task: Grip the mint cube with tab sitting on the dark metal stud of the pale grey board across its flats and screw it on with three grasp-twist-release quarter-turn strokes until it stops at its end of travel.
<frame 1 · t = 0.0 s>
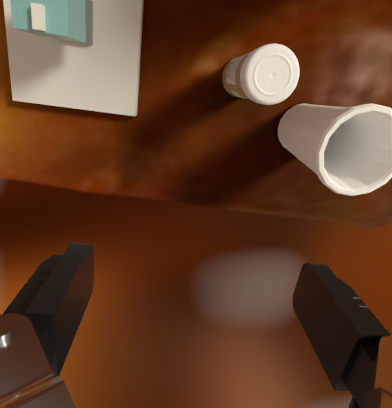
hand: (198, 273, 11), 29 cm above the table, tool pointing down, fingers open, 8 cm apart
mint cube with tab: (50, 7, 26), point 8 cm above the table, hinge at 0.0°
stud board: (78, 23, 33), on the table
cup: (299, 128, 39), on the table
sprinkles bottle: (239, 77, 36), on the table
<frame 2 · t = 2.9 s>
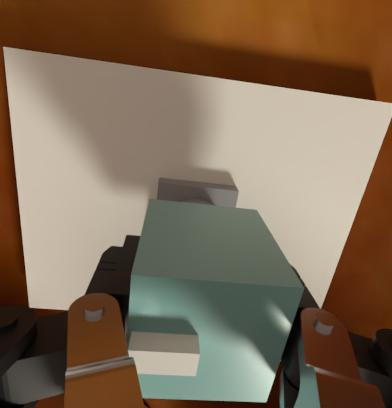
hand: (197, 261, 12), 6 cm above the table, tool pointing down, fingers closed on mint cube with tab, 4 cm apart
mint cube with tab: (201, 294, 10), point 8 cm above the table, hinge at -0.1°, touching gripper
stud board: (192, 205, 17), on the table
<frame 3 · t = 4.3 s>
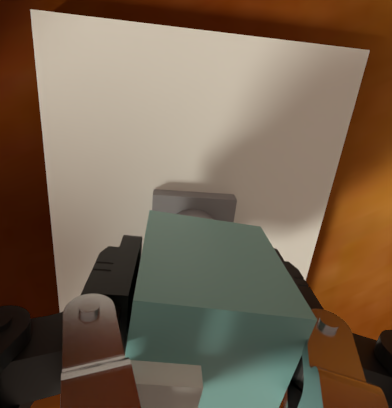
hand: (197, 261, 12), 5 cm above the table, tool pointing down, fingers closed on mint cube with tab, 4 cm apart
mint cube with tab: (201, 315, 10), point 8 cm above the table, hinge at 84.4°, touching gripper
stud board: (189, 215, 17), on the table
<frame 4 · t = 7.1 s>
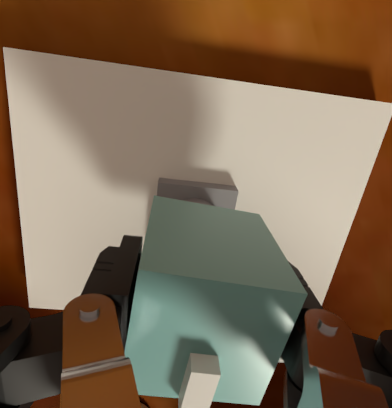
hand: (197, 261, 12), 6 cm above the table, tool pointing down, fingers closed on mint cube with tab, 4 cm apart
mint cube with tab: (201, 293, 10), point 8 cm above the table, hinge at 85.4°, touching gripper
stud board: (191, 205, 17), on the table
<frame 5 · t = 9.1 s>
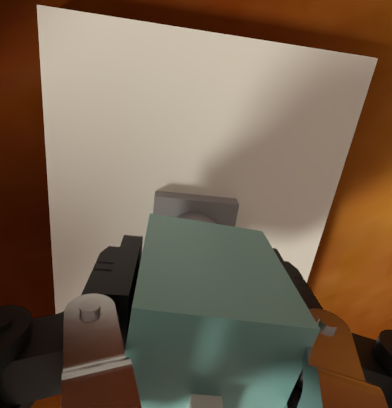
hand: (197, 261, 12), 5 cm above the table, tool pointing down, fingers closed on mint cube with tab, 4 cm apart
mint cube with tab: (201, 321, 9), point 8 cm above the table, hinge at 175.6°, touching gripper
stud board: (190, 218, 17), on the table
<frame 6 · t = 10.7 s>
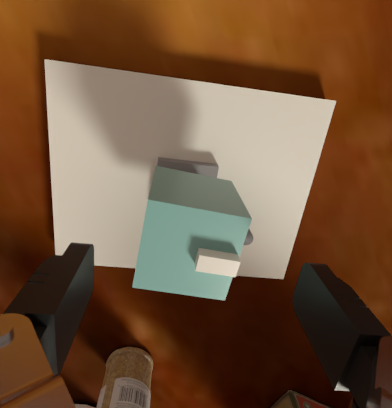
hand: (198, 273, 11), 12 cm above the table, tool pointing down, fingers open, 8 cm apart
mint cube with tab: (187, 230, 15), point 8 cm above the table, hinge at 174.7°
stud board: (184, 181, 22), on the table
sprinkles bottle: (131, 359, 29), on the table
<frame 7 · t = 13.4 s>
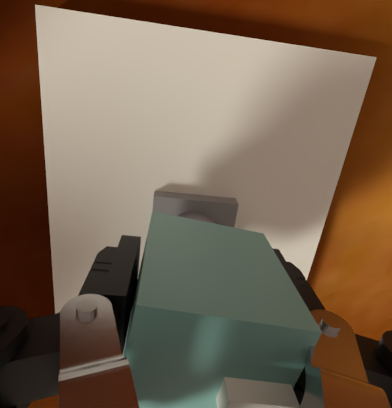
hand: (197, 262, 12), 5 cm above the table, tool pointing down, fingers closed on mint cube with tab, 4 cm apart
mint cube with tab: (201, 321, 9), point 8 cm above the table, hinge at 263.0°, touching gripper
stud board: (189, 218, 17), on the table
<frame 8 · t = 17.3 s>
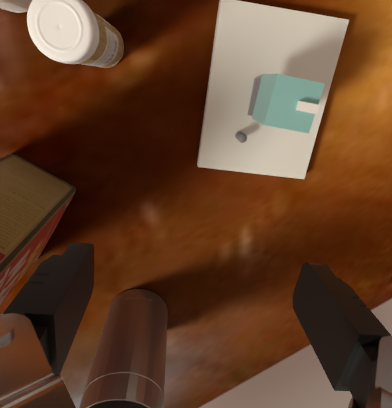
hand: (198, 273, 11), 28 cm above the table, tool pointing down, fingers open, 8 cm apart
mint cube with tab: (285, 102, 29), point 8 cm above the table, hinge at 266.9°
food packaging: (26, 209, 40), on the table
stud board: (264, 98, 36), on the table
sprinkles bottle: (104, 46, 33), on the table
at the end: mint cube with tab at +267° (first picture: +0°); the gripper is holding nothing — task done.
